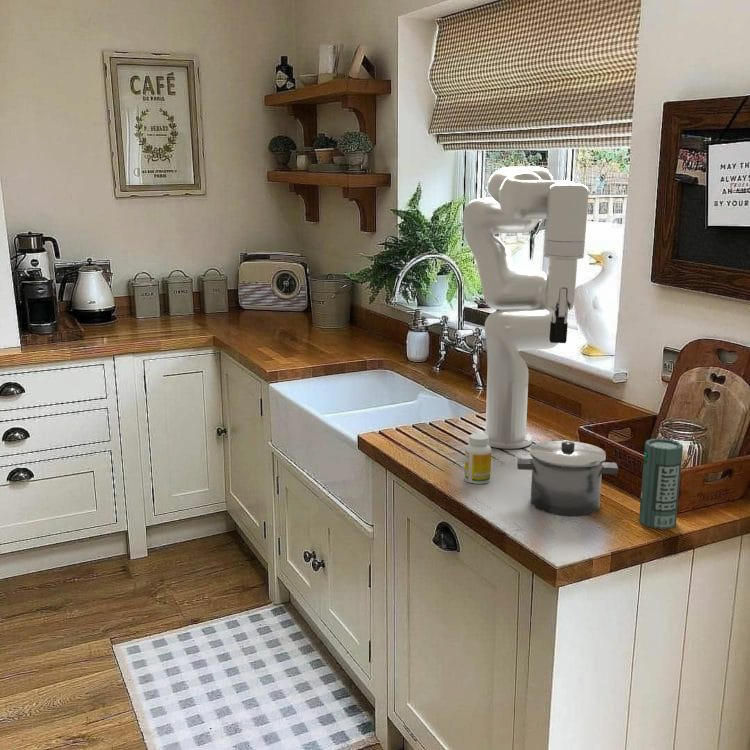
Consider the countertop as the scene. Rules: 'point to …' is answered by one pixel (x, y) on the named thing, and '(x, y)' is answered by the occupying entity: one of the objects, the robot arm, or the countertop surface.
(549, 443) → the lid
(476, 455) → the supplement bottle
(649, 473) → the can
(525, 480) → the countertop surface
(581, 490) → the pot
